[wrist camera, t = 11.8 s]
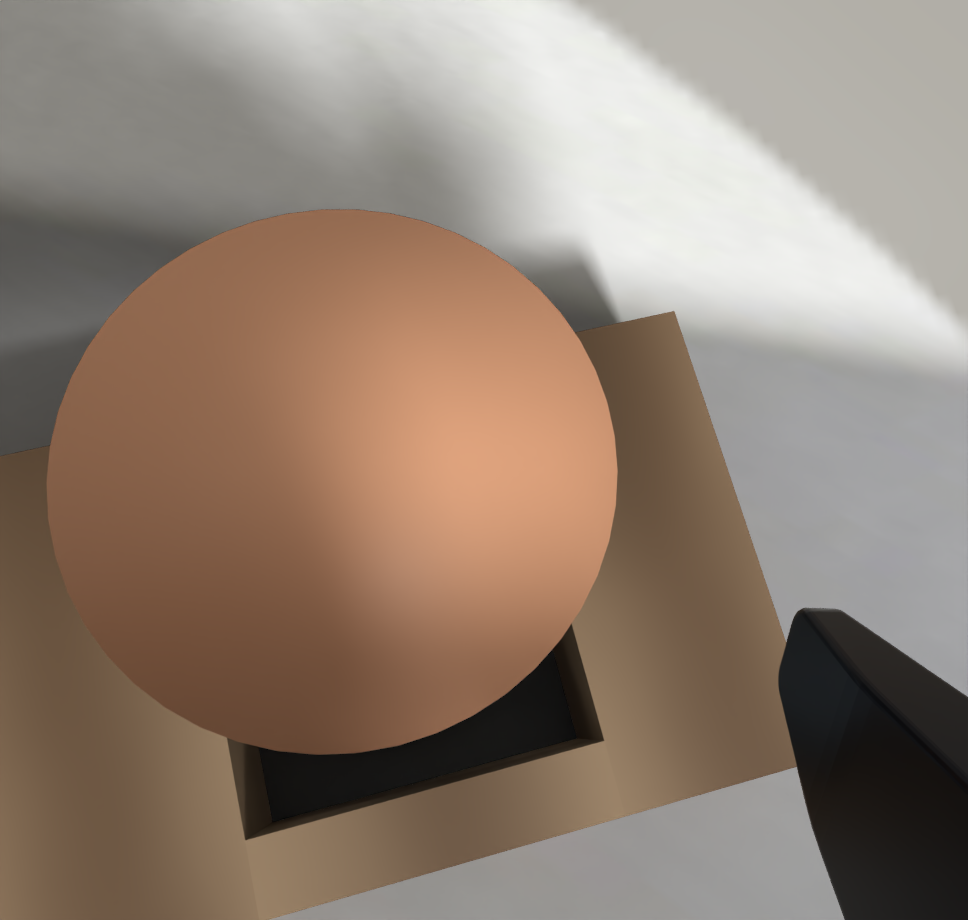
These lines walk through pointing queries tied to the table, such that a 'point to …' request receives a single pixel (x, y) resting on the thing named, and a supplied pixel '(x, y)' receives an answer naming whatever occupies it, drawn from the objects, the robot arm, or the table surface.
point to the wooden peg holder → (426, 804)
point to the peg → (332, 481)
